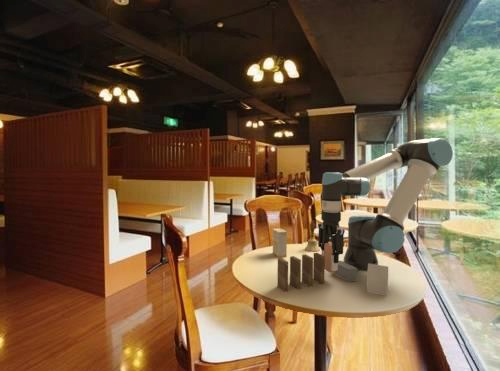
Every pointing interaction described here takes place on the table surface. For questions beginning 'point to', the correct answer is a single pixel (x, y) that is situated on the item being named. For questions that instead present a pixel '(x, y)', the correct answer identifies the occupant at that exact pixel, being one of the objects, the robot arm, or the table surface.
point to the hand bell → (312, 240)
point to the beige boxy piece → (377, 279)
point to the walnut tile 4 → (318, 268)
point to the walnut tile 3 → (307, 270)
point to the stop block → (346, 271)
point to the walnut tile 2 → (295, 272)
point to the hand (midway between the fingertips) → (329, 267)
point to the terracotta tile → (328, 256)
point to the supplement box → (280, 242)
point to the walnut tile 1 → (282, 274)
